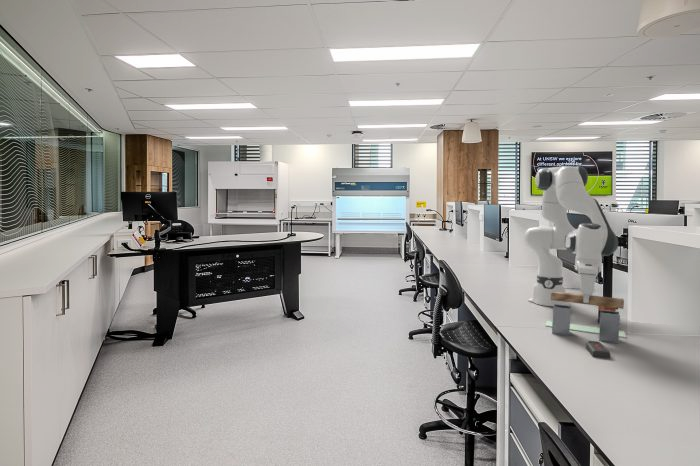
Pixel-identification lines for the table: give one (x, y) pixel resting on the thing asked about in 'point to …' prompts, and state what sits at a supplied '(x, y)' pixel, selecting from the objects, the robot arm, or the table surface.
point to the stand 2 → (609, 326)
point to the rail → (592, 299)
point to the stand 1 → (561, 319)
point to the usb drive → (597, 349)
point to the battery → (604, 309)
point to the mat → (585, 329)
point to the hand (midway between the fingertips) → (585, 301)
